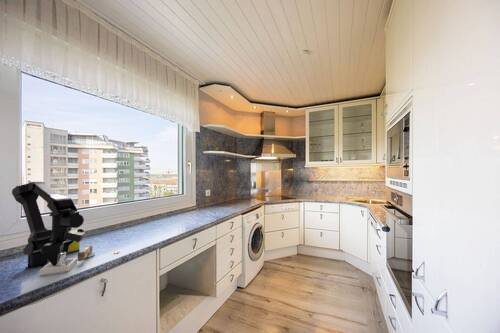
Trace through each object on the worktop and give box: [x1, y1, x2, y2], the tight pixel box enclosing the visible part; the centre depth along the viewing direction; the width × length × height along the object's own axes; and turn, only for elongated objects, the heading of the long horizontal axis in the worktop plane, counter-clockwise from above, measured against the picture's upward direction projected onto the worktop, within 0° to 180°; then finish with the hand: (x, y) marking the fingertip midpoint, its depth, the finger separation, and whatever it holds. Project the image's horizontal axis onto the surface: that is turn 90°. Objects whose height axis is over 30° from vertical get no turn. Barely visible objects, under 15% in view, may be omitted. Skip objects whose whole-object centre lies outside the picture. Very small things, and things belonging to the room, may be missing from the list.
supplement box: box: [67, 228, 80, 255], centre depth 116 cm, size 6×6×11 cm
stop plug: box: [54, 251, 67, 267], centre depth 94 cm, size 4×4×6 cm
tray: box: [39, 257, 78, 277], centre depth 94 cm, size 10×10×2 cm
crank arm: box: [77, 244, 93, 262], centre depth 104 cm, size 13×3×4 cm, turn 22°
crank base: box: [85, 250, 120, 259], centre depth 111 cm, size 16×5×1 cm, turn 112°
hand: (59, 261), depth 94 cm, fingers open, 9 cm apart
